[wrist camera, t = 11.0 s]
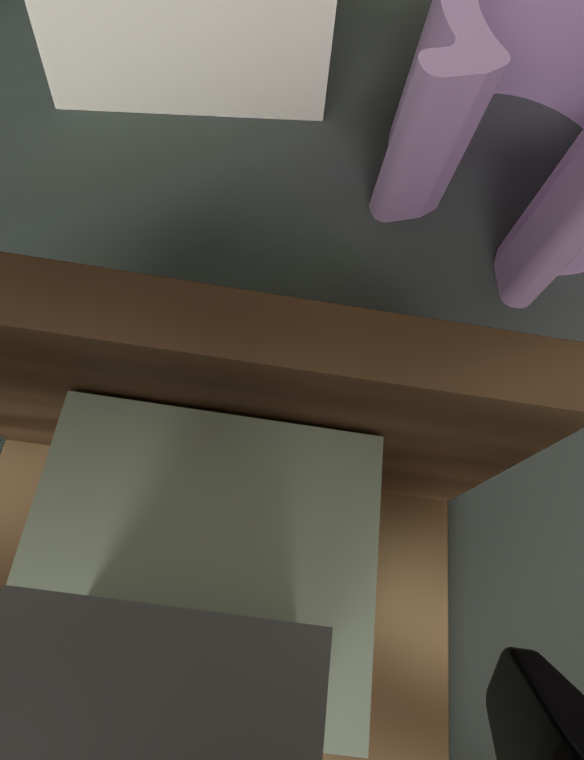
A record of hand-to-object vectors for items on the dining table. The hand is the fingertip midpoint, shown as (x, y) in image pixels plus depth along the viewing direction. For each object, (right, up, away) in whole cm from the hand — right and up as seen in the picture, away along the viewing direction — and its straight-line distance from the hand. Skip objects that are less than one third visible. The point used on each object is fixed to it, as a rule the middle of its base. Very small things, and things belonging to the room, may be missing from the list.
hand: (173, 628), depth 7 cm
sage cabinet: (-1, -2, +8) cm, 9 cm away
